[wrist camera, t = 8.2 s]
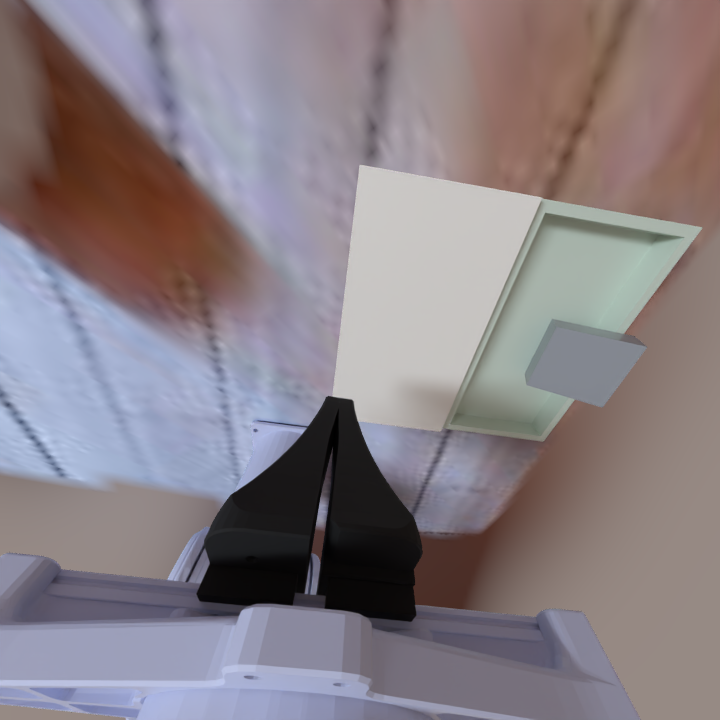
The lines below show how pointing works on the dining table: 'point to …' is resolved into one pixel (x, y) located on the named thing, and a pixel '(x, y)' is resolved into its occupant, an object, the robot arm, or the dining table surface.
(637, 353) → the grey tile
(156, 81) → the dining table surface
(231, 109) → the dining table surface
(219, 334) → the dining table surface
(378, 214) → the white board
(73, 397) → the dining table surface
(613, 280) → the box
